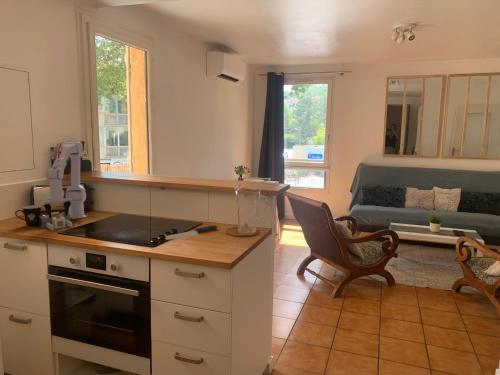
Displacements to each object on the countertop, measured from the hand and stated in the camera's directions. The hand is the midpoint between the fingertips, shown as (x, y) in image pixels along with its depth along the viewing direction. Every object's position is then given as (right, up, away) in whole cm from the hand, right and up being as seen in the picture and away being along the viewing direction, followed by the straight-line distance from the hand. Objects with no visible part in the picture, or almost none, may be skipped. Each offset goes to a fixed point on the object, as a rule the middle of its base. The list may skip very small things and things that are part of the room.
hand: (58, 216), depth 200 cm
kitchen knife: (+73, -8, -12) cm, 74 cm away
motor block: (-5, -5, +6) cm, 9 cm away
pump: (0, -5, +1) cm, 6 cm away
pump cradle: (+1, -5, 0) cm, 5 cm away
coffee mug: (-17, -5, +4) cm, 18 cm away
